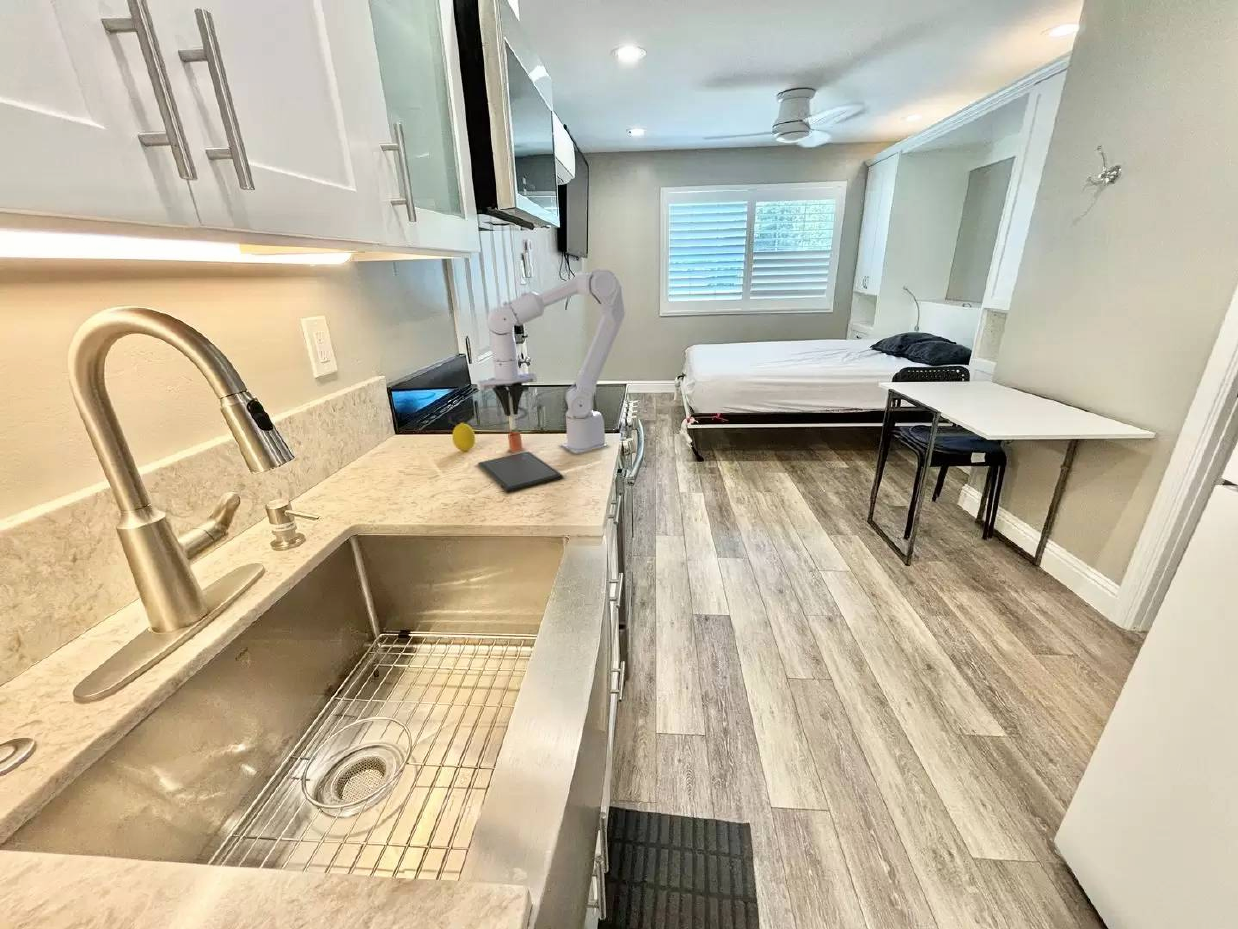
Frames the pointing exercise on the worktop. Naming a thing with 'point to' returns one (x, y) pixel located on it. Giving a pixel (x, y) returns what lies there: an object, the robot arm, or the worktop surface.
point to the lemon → (463, 437)
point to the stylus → (511, 415)
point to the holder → (515, 441)
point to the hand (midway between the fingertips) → (511, 414)
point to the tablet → (519, 471)
